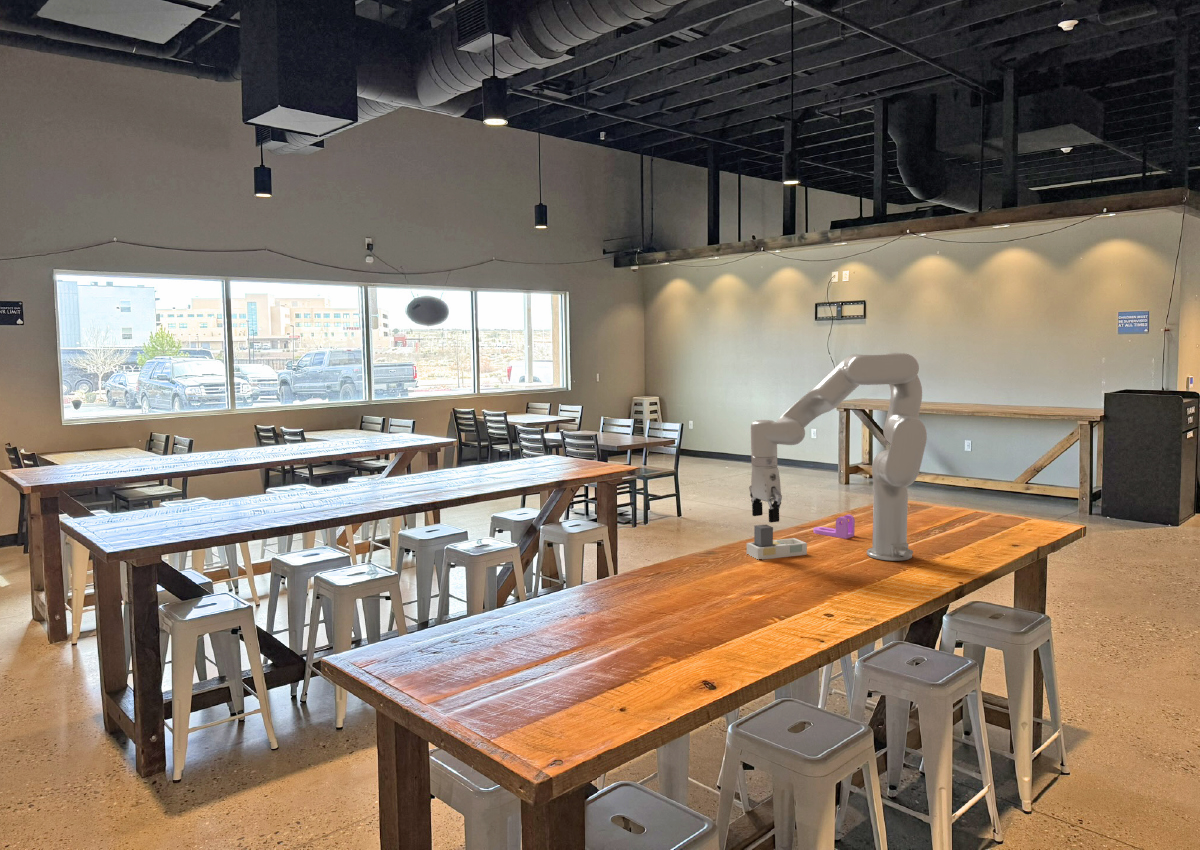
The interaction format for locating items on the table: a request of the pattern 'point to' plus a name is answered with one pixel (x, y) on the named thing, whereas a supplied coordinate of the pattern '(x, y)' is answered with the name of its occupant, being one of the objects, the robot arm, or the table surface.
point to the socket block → (778, 549)
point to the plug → (763, 535)
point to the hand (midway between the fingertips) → (765, 518)
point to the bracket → (839, 528)
